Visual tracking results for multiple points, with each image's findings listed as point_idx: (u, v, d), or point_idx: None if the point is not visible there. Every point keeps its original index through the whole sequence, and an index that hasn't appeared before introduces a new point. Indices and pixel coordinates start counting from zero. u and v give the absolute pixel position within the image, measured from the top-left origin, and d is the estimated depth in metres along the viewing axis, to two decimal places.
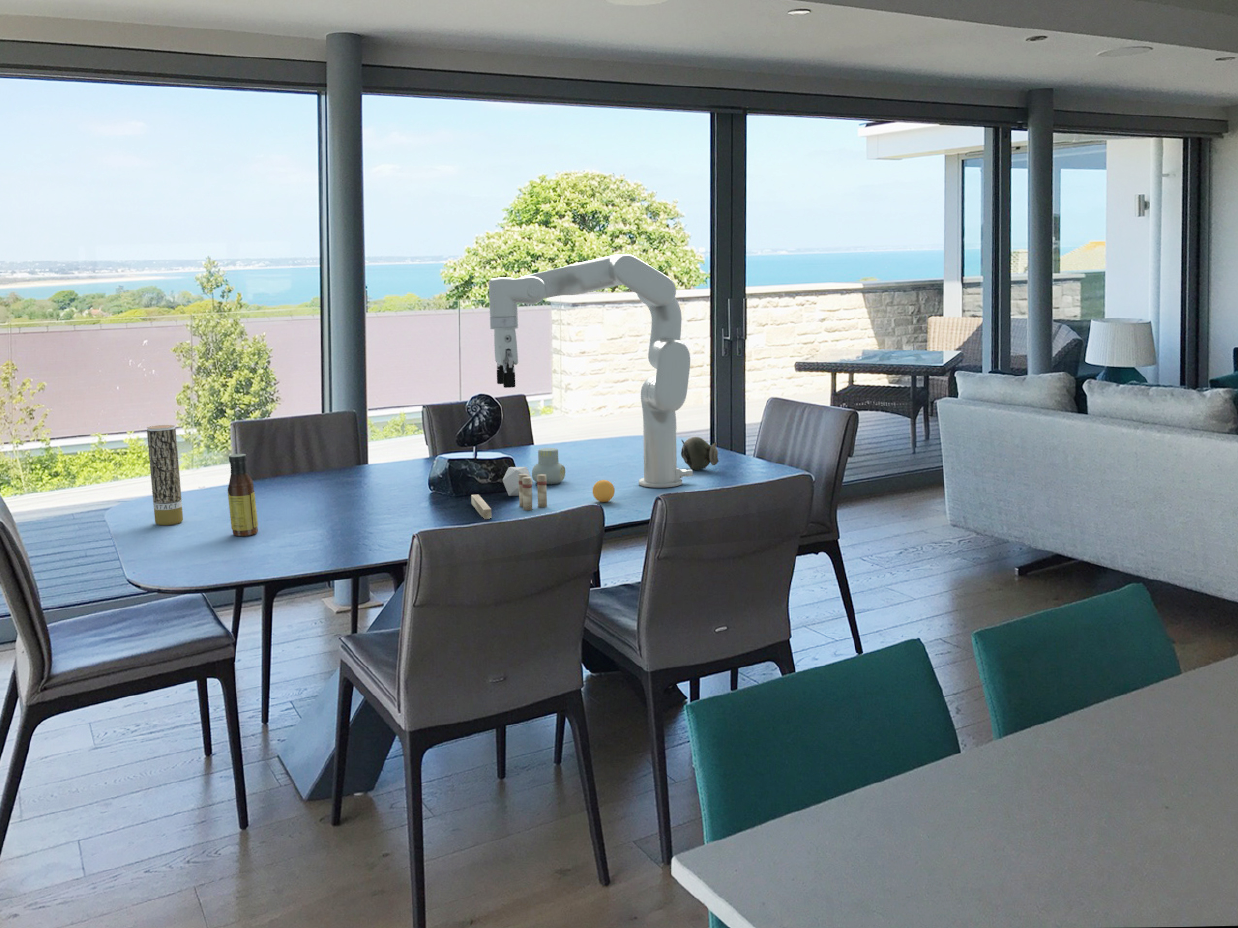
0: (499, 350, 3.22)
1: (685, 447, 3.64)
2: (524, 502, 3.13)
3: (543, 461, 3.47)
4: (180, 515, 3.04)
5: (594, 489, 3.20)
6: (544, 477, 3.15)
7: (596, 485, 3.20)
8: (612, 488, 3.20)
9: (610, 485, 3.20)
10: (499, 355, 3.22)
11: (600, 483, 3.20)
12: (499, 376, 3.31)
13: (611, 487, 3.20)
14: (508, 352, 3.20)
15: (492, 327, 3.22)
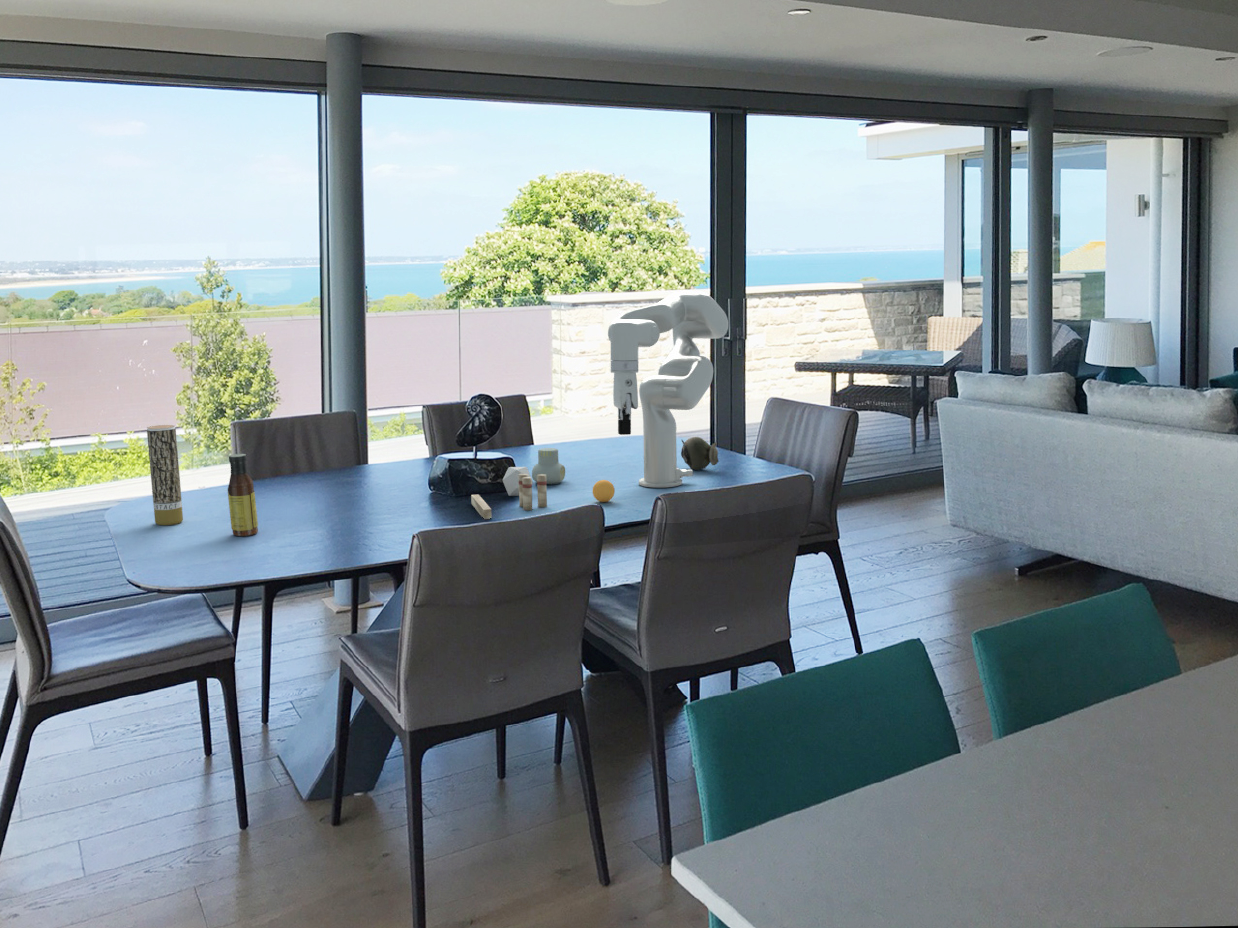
0: (619, 394, 3.18)
1: (685, 447, 3.64)
2: (524, 502, 3.13)
3: (543, 461, 3.47)
4: (180, 515, 3.04)
5: (594, 489, 3.20)
6: (544, 477, 3.15)
7: (596, 485, 3.20)
8: (612, 488, 3.20)
9: (610, 485, 3.20)
10: (619, 399, 3.19)
11: (600, 483, 3.20)
12: None
13: (611, 487, 3.20)
14: (627, 402, 3.18)
15: (613, 371, 3.19)
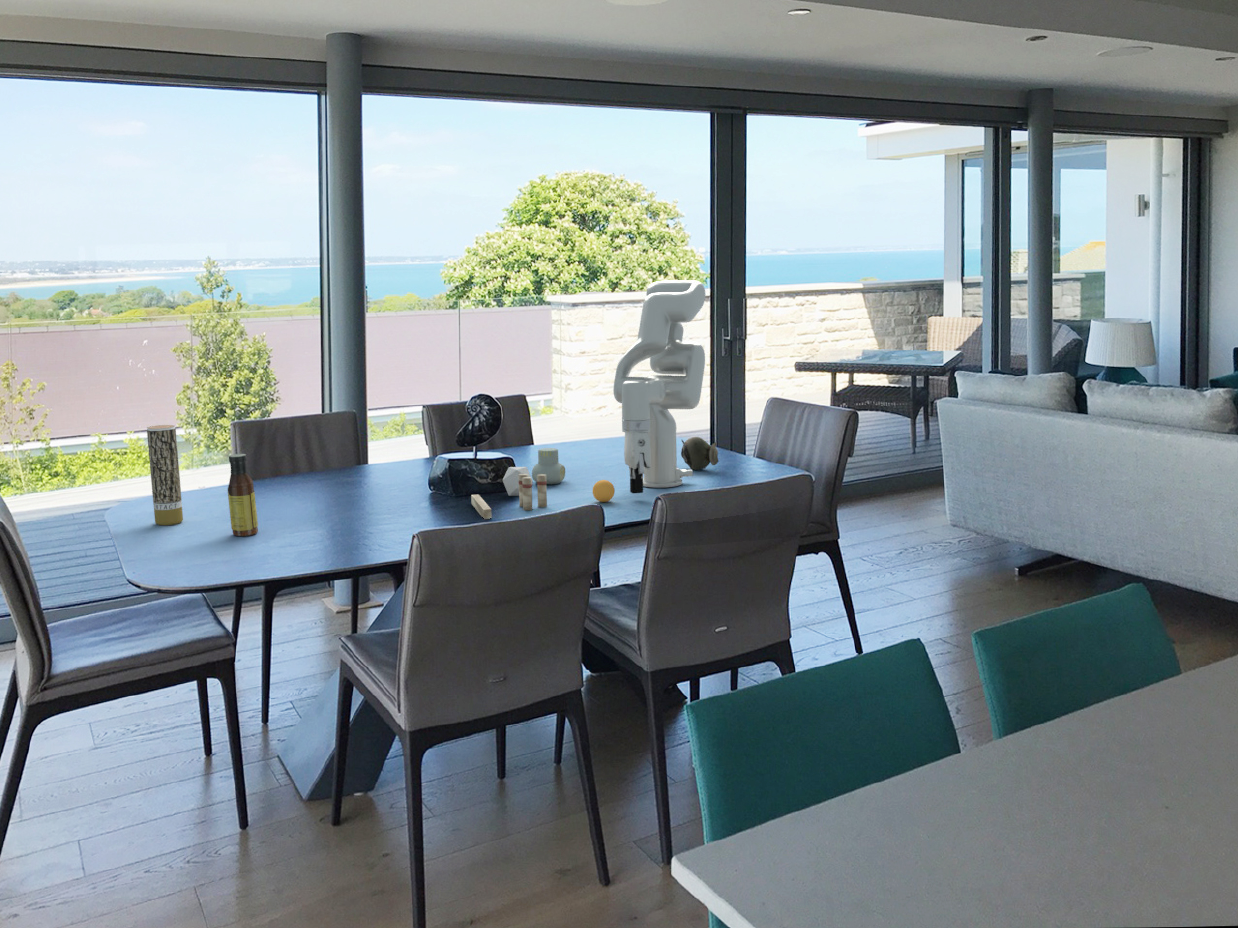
0: (632, 454, 3.18)
1: (685, 447, 3.64)
2: (524, 502, 3.13)
3: (543, 461, 3.47)
4: (180, 515, 3.04)
5: (594, 489, 3.20)
6: (544, 477, 3.15)
7: (596, 485, 3.20)
8: (612, 488, 3.20)
9: (610, 485, 3.20)
10: (632, 459, 3.18)
11: (600, 483, 3.20)
12: None
13: (611, 487, 3.20)
14: (640, 462, 3.18)
15: (625, 430, 3.19)
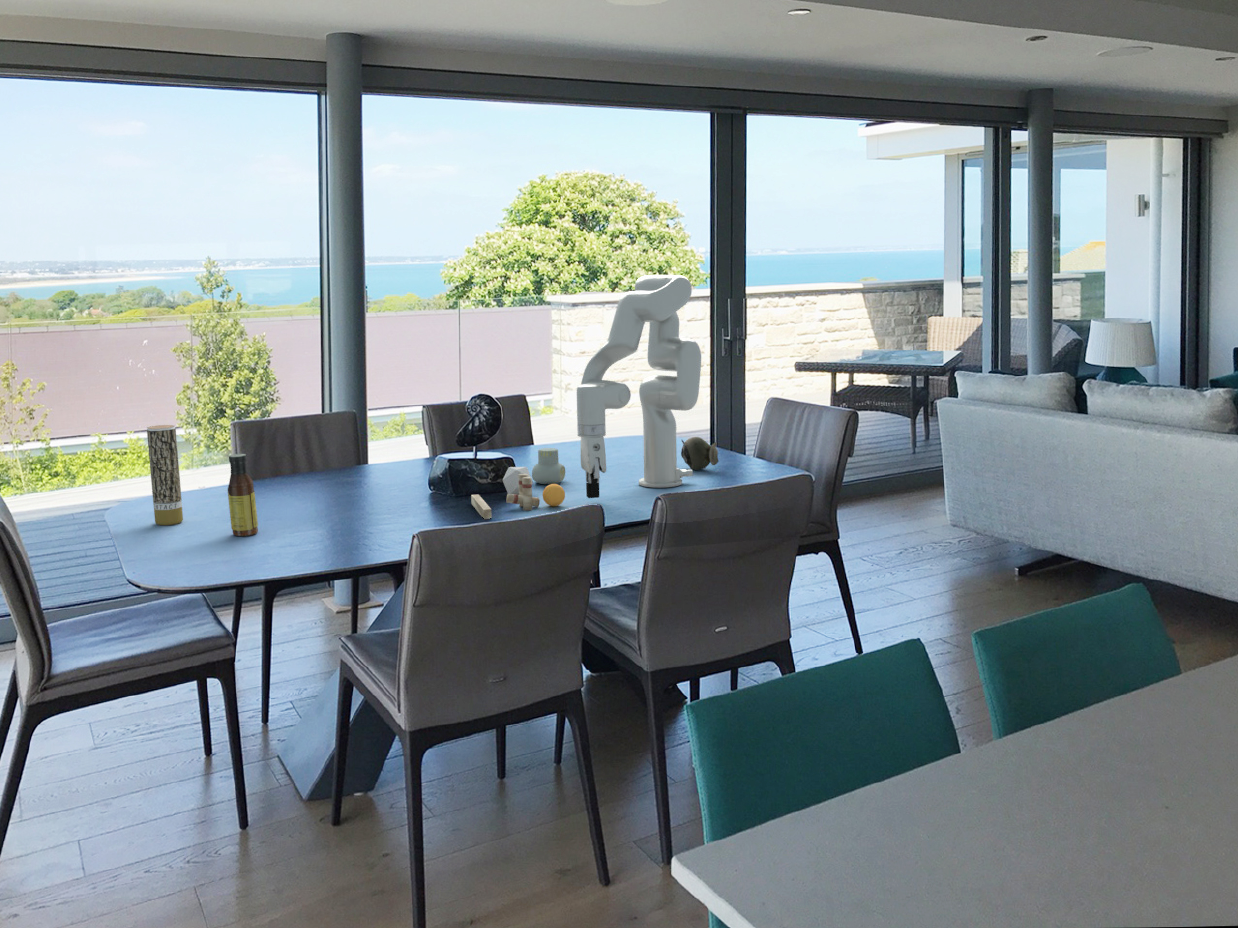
0: (587, 458, 3.15)
1: (685, 447, 3.64)
2: (524, 502, 3.13)
3: (543, 461, 3.47)
4: (180, 515, 3.04)
5: (560, 487, 3.16)
6: (510, 496, 3.13)
7: (563, 490, 3.17)
8: (556, 505, 3.16)
9: (559, 504, 3.16)
10: (587, 463, 3.15)
11: (564, 495, 3.17)
12: None
13: (557, 504, 3.16)
14: (596, 467, 3.15)
15: (580, 435, 3.16)
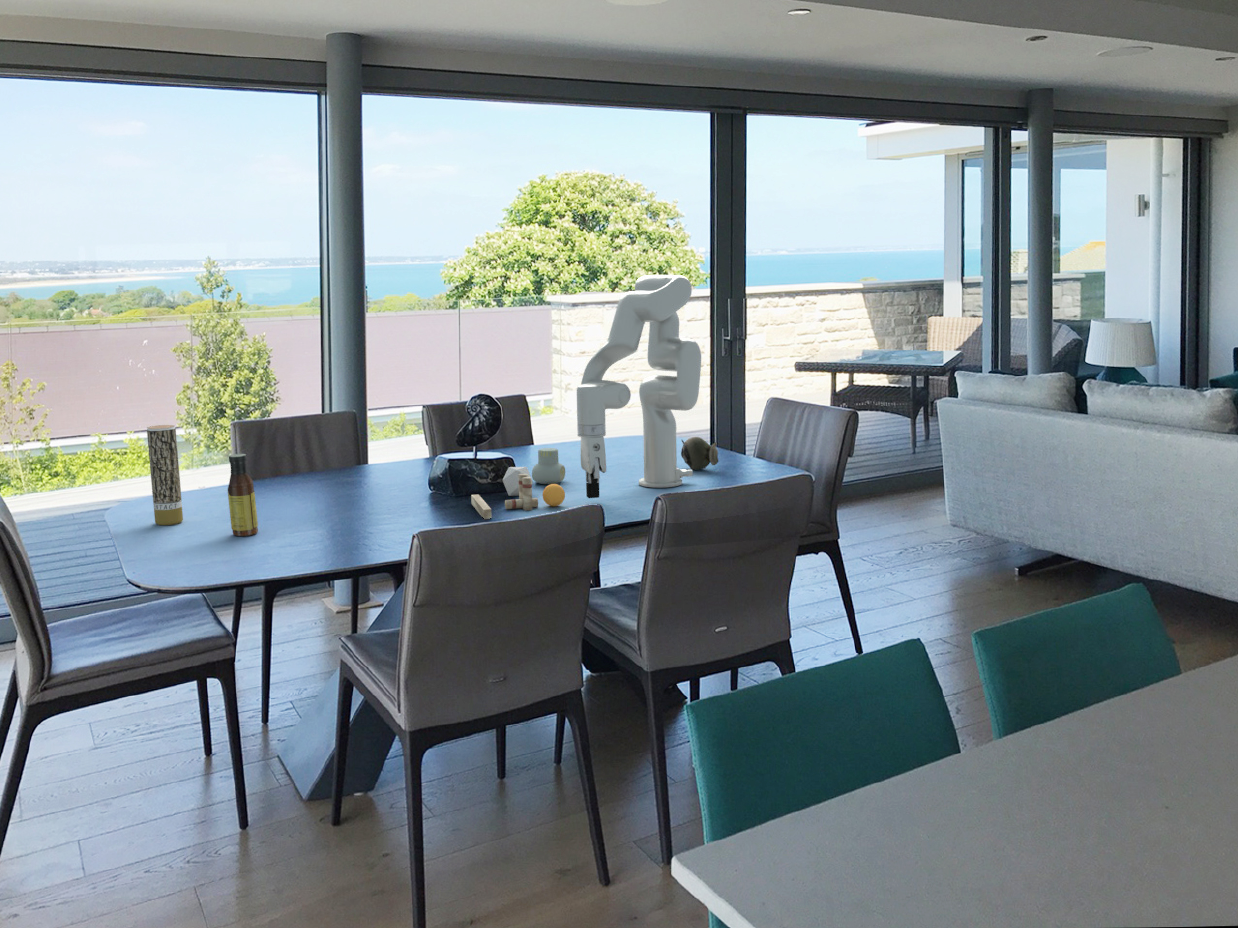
0: (587, 458, 3.15)
1: (685, 447, 3.64)
2: (524, 502, 3.13)
3: (543, 461, 3.47)
4: (180, 515, 3.04)
5: (560, 487, 3.16)
6: (508, 503, 3.13)
7: (563, 490, 3.17)
8: (556, 505, 3.16)
9: (559, 504, 3.16)
10: (587, 463, 3.15)
11: (564, 495, 3.17)
12: None
13: (557, 504, 3.16)
14: (596, 467, 3.15)
15: (580, 435, 3.16)
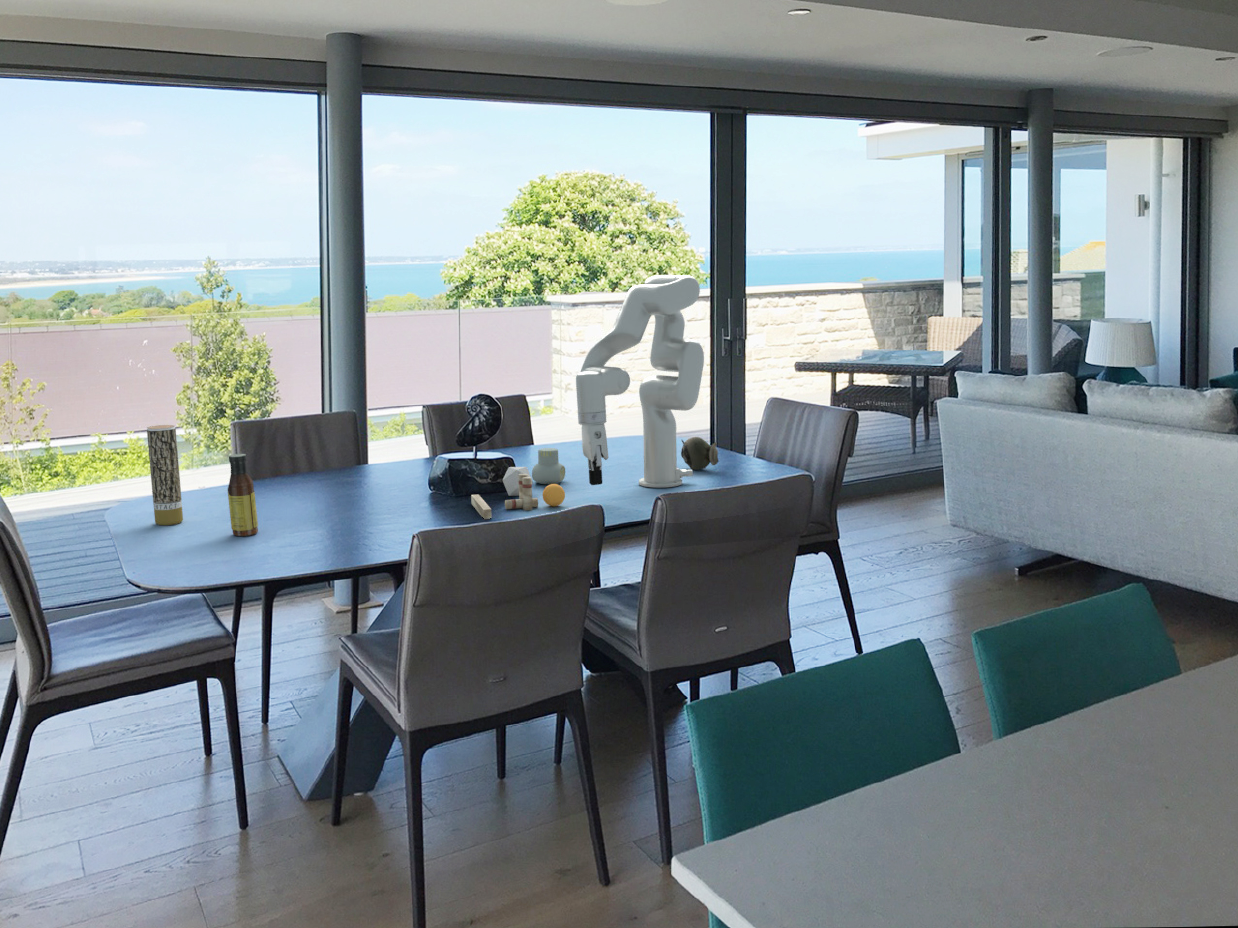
0: (589, 446, 3.15)
1: (685, 447, 3.64)
2: (524, 502, 3.13)
3: (543, 461, 3.47)
4: (180, 515, 3.04)
5: (560, 487, 3.16)
6: (508, 503, 3.13)
7: (563, 490, 3.17)
8: (556, 505, 3.16)
9: (559, 504, 3.16)
10: (589, 451, 3.16)
11: (564, 495, 3.17)
12: None
13: (557, 504, 3.16)
14: (598, 454, 3.15)
15: (581, 423, 3.16)
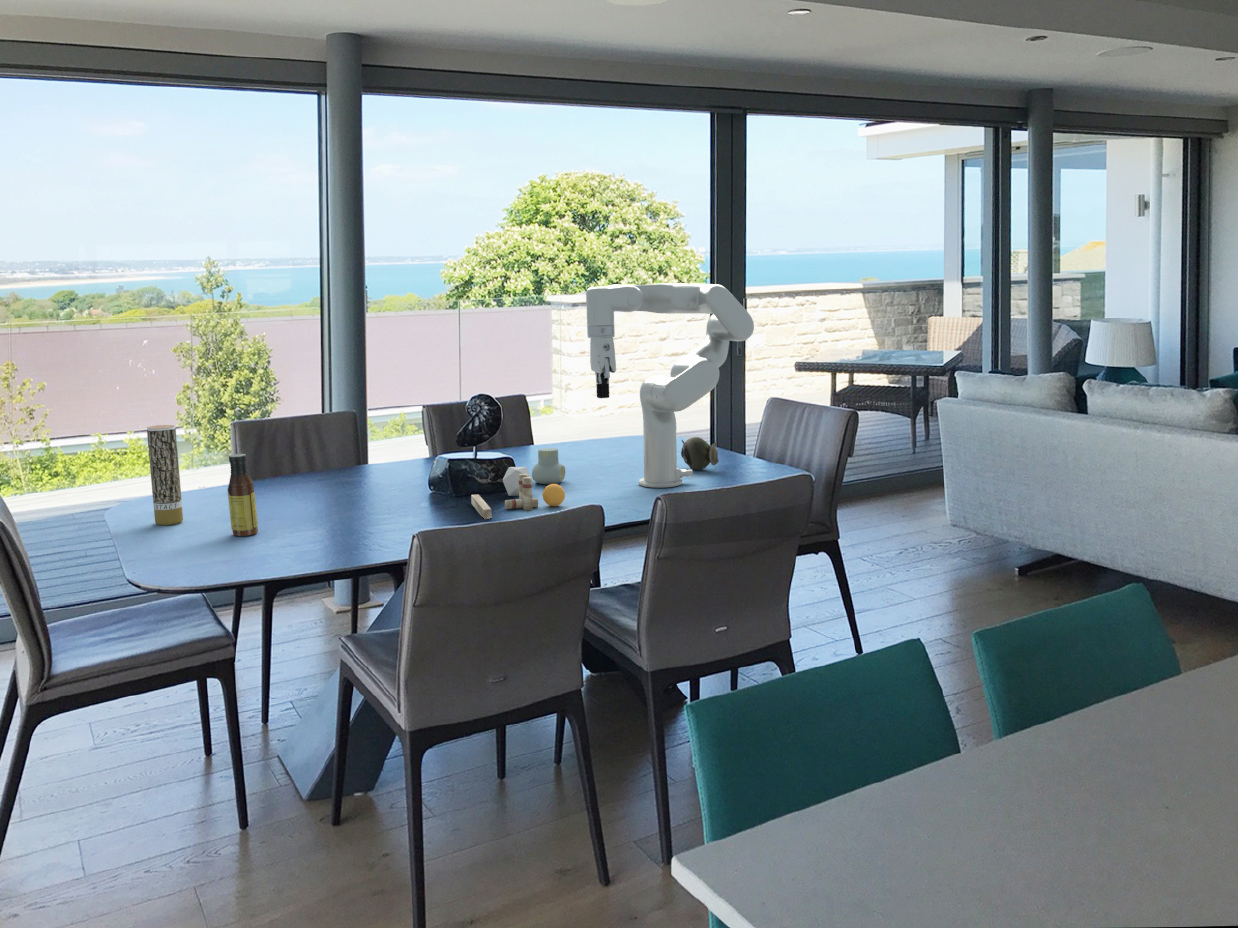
0: (598, 358, 3.25)
1: (685, 447, 3.64)
2: (524, 502, 3.13)
3: (543, 461, 3.47)
4: (180, 515, 3.04)
5: (560, 487, 3.16)
6: (508, 503, 3.13)
7: (563, 490, 3.17)
8: (556, 505, 3.16)
9: (559, 504, 3.16)
10: (597, 363, 3.26)
11: (564, 495, 3.17)
12: None
13: (557, 504, 3.16)
14: (606, 366, 3.25)
15: (590, 336, 3.26)
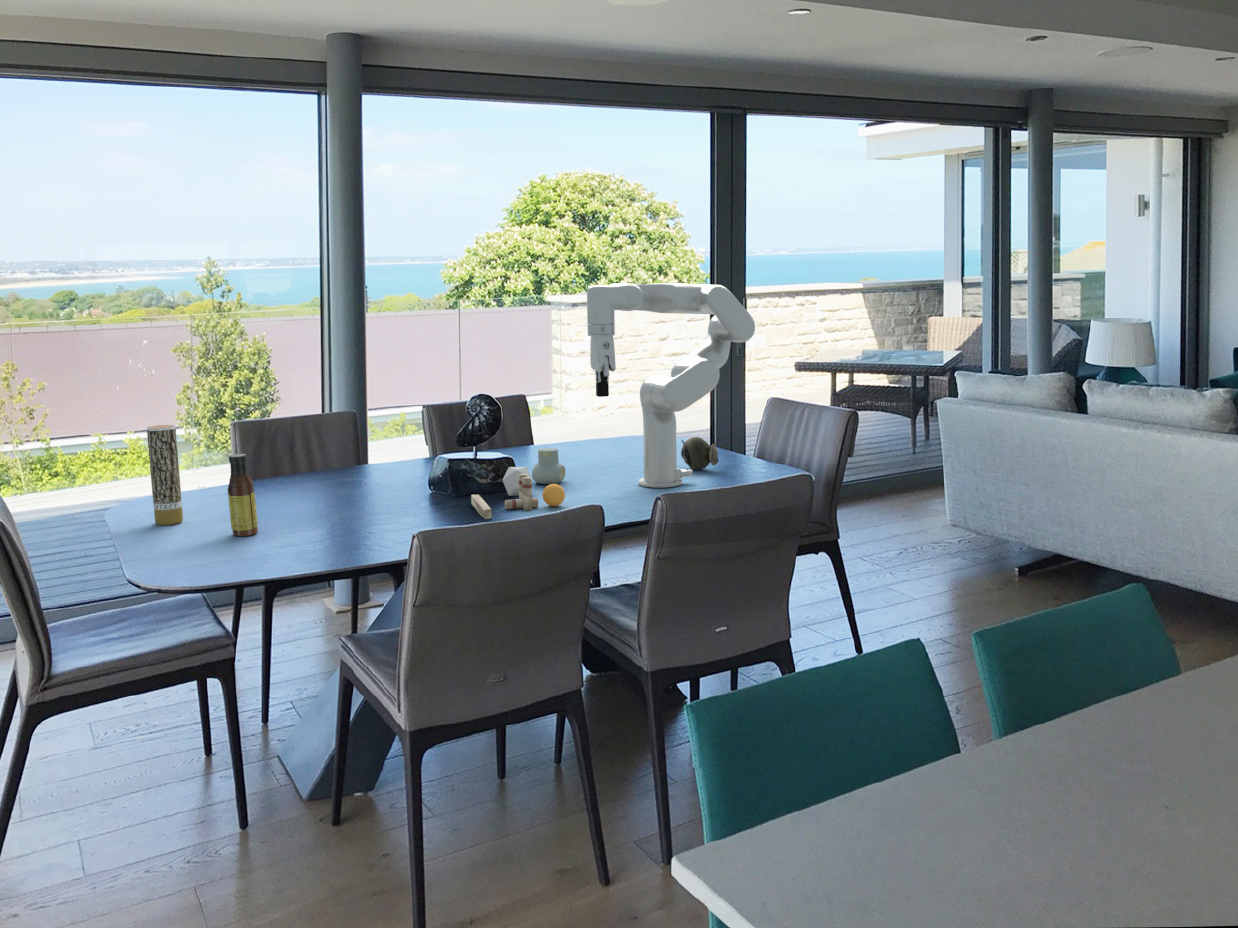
0: (597, 357, 3.26)
1: (685, 447, 3.64)
2: (524, 502, 3.13)
3: (543, 461, 3.47)
4: (180, 515, 3.04)
5: (560, 487, 3.16)
6: (508, 503, 3.13)
7: (563, 490, 3.17)
8: (556, 505, 3.16)
9: (559, 504, 3.16)
10: (597, 362, 3.26)
11: (564, 495, 3.17)
12: None
13: (557, 504, 3.16)
14: (605, 365, 3.26)
15: (590, 334, 3.26)
